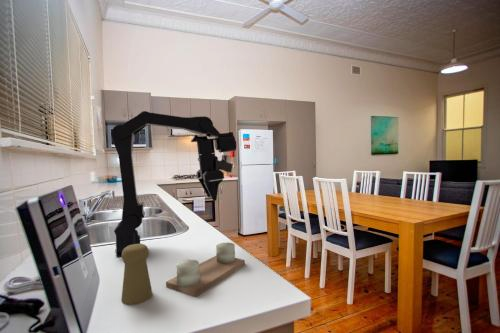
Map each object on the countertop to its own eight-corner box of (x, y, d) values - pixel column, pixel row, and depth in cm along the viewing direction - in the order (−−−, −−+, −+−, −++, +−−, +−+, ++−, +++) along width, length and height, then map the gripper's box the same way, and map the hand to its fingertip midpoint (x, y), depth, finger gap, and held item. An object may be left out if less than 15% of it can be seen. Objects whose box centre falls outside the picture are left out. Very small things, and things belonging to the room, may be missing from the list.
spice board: (166, 286, 60) (165, 264, 59) (218, 258, 76) (218, 240, 75) (195, 297, 55) (194, 272, 55) (244, 264, 71) (244, 245, 71)
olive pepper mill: (158, 293, 57) (156, 243, 56) (132, 308, 51) (130, 252, 51) (140, 287, 60) (138, 239, 59) (115, 299, 55) (112, 247, 54)
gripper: (236, 150, 84) (242, 198, 85) (222, 152, 102) (227, 192, 103) (202, 154, 81) (208, 204, 82) (194, 155, 98) (199, 196, 99)
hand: (212, 198), depth 92 cm, fingers open, 9 cm apart
